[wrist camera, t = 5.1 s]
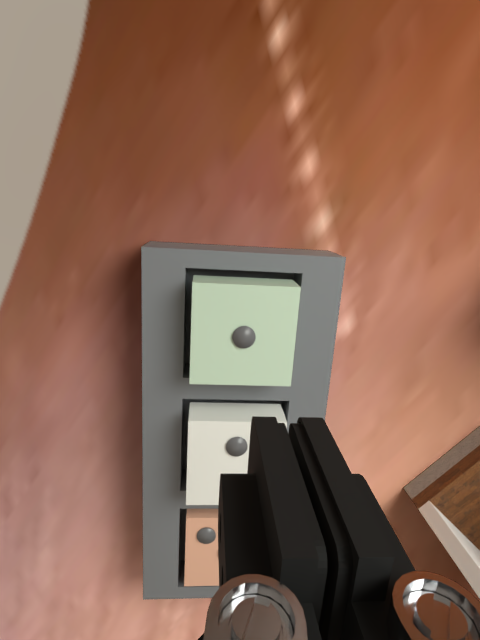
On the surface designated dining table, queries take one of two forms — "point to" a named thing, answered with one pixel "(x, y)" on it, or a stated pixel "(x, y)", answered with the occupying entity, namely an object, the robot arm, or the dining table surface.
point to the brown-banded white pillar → (454, 504)
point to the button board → (176, 393)
